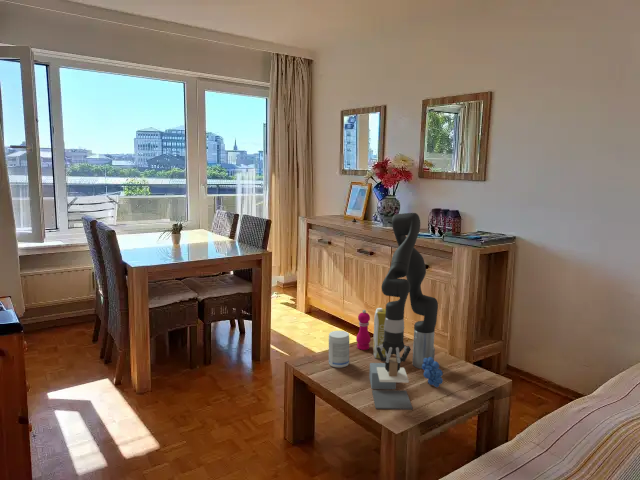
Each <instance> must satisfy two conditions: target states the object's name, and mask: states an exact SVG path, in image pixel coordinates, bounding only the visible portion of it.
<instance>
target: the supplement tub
mask: <svg viewBox="0 0 640 480" xmlns="http://www.w3.org/2000/svg"><path fill="white" fill-rule="evenodd" d="M328 364H329V365H330V366H331V367H333V368H340V369H341V368H345V367H347V366H349V364H350V334H349V332H347V331H345V330H334V331H330V332H329V334H328Z"/></svg>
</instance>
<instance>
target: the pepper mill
mask: <svg viewBox="0 0 640 480" xmlns="http://www.w3.org/2000/svg"><path fill="white" fill-rule="evenodd" d="M370 319H371V316H370V314H369V313H367V310H366V309H363V310H362V312H360V313H359V314H358V315H357V320H358V321H359V322H358V325H359V331H358V333H357V335H356V339H355V340H356V342H357V343H356V348H357V350H360V349H361V351H366V350H369V349H370V342H371V340H372V339H371V336H370V333H369V325H370Z"/></svg>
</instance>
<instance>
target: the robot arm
mask: <svg viewBox="0 0 640 480" xmlns="http://www.w3.org/2000/svg"><path fill="white" fill-rule="evenodd" d="M391 227H392V231H393V233H394V237H395V239H396V242H397V246H398V247H397V248H396V249H395V251H394V252H393V254H392V258H391V262H390V267H389V270H388V272H387V274H386V276H385V277H384V279H383V281H382V283H381V292H382V293H383V295H385V297H386V296H387V297H396V298H399V299H397V300H392V301H388V302H387V303H386V304H385V309H386V315H385V324H384V342H383V343H382V345H380V346H378V345H377V346H376V348H377V351H378V354H379V356H380V358H381V359H380V360H381V362H384V363H385V369H386V370H387V372H389V359H390V358H391V356H392V355H395V358H396V360H397V363H398V366H397V372H398V370H400V368H401V363H402V362H403V363H404V362H406V360H407V358H408V356H409V354H410V352H411V351H412V366H413V367H415V368H416V369H421V370H423V369H422V364H423V363H424V362H423V360H424V358H429V357H432V358H433V359H434V360H435V351H436V348H435V346H434V345H435V331H436V330H435V329H436V325H437V318H438V311H439V309H438V308H439V303H438V300H437V299H436V298H435V297H432V296H429V295H425V294H423V292H422V287H421V286H422V283H423V281H424V279H425V277H426V275H427V274H426V273H427V268H426V264H425V260H424V259H425V258H424V257H423V255H422V254H421V253H420V252H419V251H418V250H417V249H416V248H415V245H416V242H417V240H418V236H419V234H420V231H421V219H420V216H419V214H418V213H416V212H408V213H404V212H403V213H397V214H394V215H393V216H392V219H391ZM405 278H406V279H405ZM408 296H409V300H410V305H411V306H410V308H411V310H412V311H413V313H414V314H416V315H420V316H423V320H418V321H416V322H414V324H413V325H414V328H413V345H412V346H413V347H412V348H413V349H412V348H411V347H410V345H405V343H404V334H405V332H404V331H405V306H406V302H407V299H408ZM382 348H384V349H385V350H386V357H383V354H382V352H381V351H382ZM411 349H412V350H411ZM401 352H403V353H402V355H401ZM400 355H401V356H400Z"/></svg>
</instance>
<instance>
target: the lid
mask: <svg viewBox="0 0 640 480" xmlns="http://www.w3.org/2000/svg"><path fill="white" fill-rule="evenodd" d="M397 366H398V363H397V359H396V357H390V359H389V372H387V370H386V369H385V367H377V373H378V377H379V381H380V382H396V383H404V384H405V383H407V384H408V383H410V381H409V376H408V375H407V372H406V369H405V367H400V370H398V372H397Z"/></svg>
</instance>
